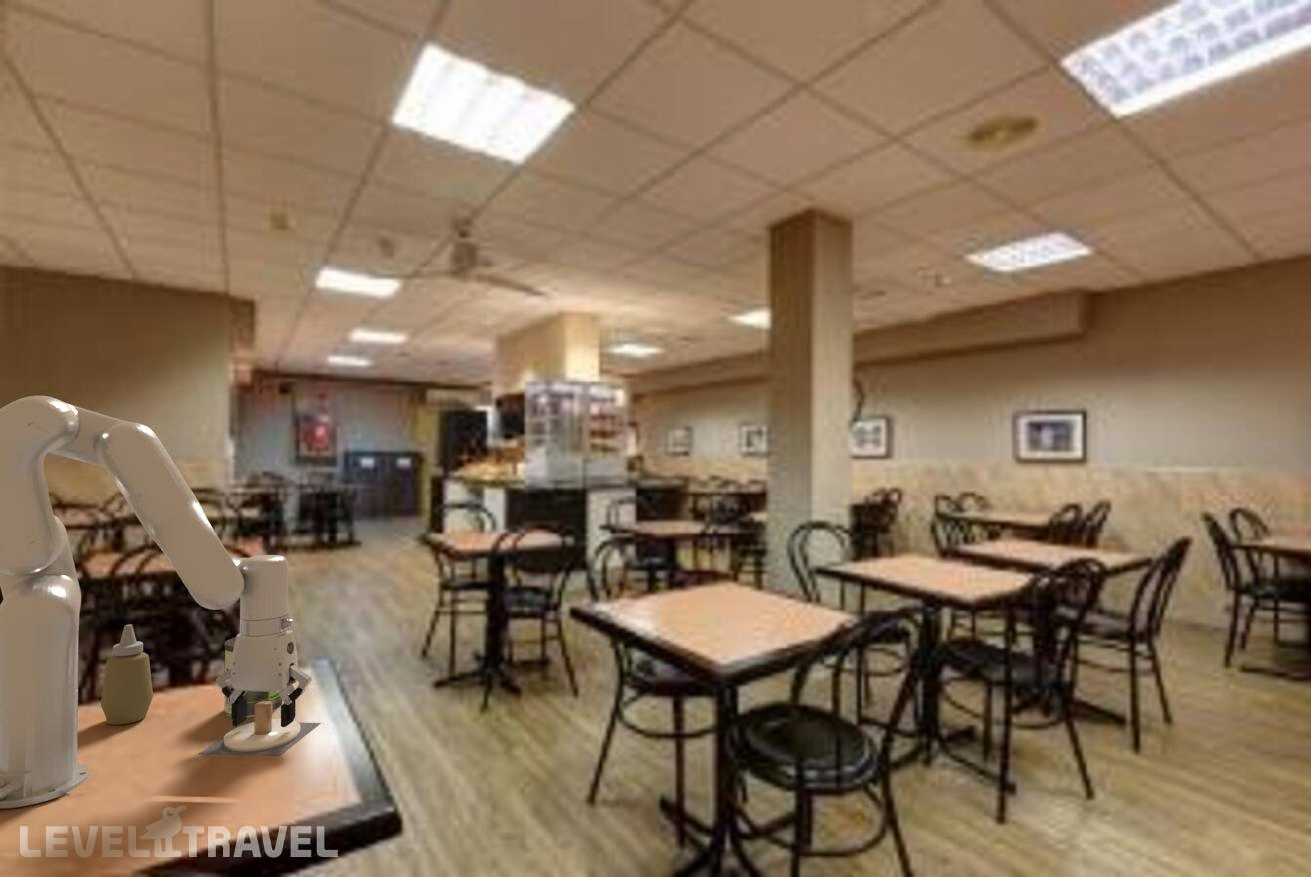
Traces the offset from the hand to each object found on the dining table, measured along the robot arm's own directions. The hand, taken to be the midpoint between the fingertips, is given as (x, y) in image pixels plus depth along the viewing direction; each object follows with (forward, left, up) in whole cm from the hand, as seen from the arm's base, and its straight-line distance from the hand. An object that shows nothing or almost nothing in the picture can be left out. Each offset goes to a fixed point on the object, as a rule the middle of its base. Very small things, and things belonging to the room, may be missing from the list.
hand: (263, 723), depth 128 cm
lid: (0, 0, -2) cm, 2 cm away
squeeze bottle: (+8, +31, -3) cm, 32 cm away
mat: (0, 0, -3) cm, 3 cm away
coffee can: (+14, +10, -3) cm, 18 cm away
